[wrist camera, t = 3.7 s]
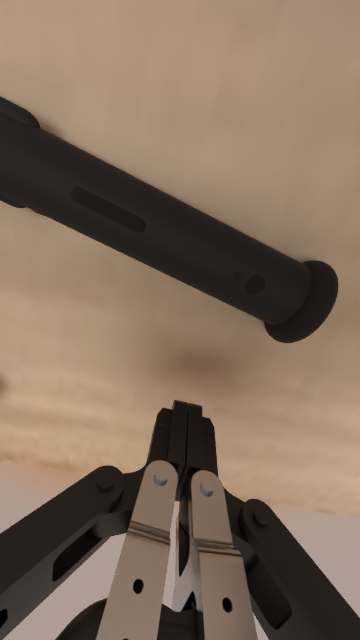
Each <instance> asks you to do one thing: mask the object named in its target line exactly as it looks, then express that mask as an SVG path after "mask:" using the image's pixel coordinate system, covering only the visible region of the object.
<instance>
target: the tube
mask: <svg viewBox="0 0 360 640" xmlns="http://www.w3.org/2000/svg"><path fill="white" fill-rule="evenodd" d="M0 200H1V201H3V202H5V203H7V204H9V205H11V206H14V207H17V208H25V207H28V208H30V209H32V210H33V211H35V212H37V213H39V214H41V215H44V216H47V217H49V218H51V219H53V220H55V221H57V222H59V223H61V224H63V225H66V226H68V227H70V228H72V229H74V230H76V231H78V232H80V233H82V234H84V235H86V236H88V237H90V238H92V239H95V240H97V241H99V242H101V243H103V244H105V245H107V246H109V247H111V248H113V249H115V250H117V251H119V252H121V253H124V254H126V255H128V256H130V257H132V258H134V259H136V260H138V261H140V262H142V263H144V264H146V265H148V266H150V267H153V268H155V269H157V270H159V271H161V272H163V273H165V274H167V275H169V276H171V277H173V278H175V279H177V280H179V281H182V282H184V283H186V284H188V285H190V286H192V287H194V288H196V289H198V290H200V291H202V292H204V293H206V294H208V295H211V296H213V297H215V298H217V299H219V300H221V301H223V302H225V303H227V304H229V305H231V306H233V307H235V308H237V309H240V310H242V311H244V312H246V313H248V314H250V315H252V316H254V317H256V318H258V319H260V320H262V321H264V324H265V328H266V331H267V332H268V334H269V335H270V336H271V337H272V338H273V339H275V340H277V341H279V342H283V343H293V342H297V341H300V340H302V339H304V338H306V337H308V336H309V335H310V334H312V333H313V332H314V331H315V330H317V329H318V328H319V327H320V325H321V324H322V323H323V322H324V321H325V319H326V318H327V316H328V315H329V313H330V312H331V310H332V308H333V306H334V303H335V301H336V297H337V293H338V278H337V275H336V273H335V271H334V270H333V268H332V267H331V266H329V265H328V264H326V263H324V262H321V261H307V262H304V263H300V262H298V261H296V260H294V259H292V258H290V257H288V256H286V255H284V254H282V253H280V252H278V251H276V250H274V249H273V248H271V247H269V246H267V245H265V244H263V243H261V242H259V241H257V240H255V239H253V238H251V237H249V236H247V235H245V234H244V233H242V232H240V231H238V230H236V229H234V228H232V227H230V226H228V225H226V224H224V223H222V222H220V221H218V220H216V219H215V218H213V217H211V216H209V215H207V214H205V213H203V212H201V211H199V210H197V209H195V208H193V207H191V206H189V205H188V204H186V203H184V202H182V201H180V200H178V199H176V198H174V197H172V196H170V195H168V194H166V193H164V192H162V191H160V190H159V189H157V188H155V187H153V186H151V185H149V184H147V183H145V182H143V181H141V180H139V179H137V178H135V177H133V176H131V175H130V174H128V173H126V172H124V171H122V170H120V169H118V168H116V167H114V166H112V165H110V164H108V163H106V162H104V161H103V160H101V159H99V158H97V157H95V156H93V155H91V154H89V153H87V152H85V151H83V150H81V149H79V148H77V147H75V146H74V145H72V144H70V143H68V142H66V141H64V140H62V139H60V138H58V137H56V136H54V135H52V134H50V133H48V132H46V131H45V130H43V129H41V128H40V125H39V123H38V121H37V120H36V118H35V117H34V116H33V115H32V114H31V113H30V112H29V111H27V110H26V109H24V108H22V107H20V106H18V105H16V104H14V103H12V102H10V101H8V100H6V99H5V98H3V97H1V96H0Z"/></svg>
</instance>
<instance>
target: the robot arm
mask: <svg viewBox="0 0 360 640" xmlns="http://www.w3.org/2000/svg"><path fill="white" fill-rule="evenodd" d="M175 501H180V506H179V513H178V516H177V519H176V576H175V588H174V593H173V601H172V609H170V608H168V607H167V606H165V605H163V604H162V599H163V592H164V586H165V578H166V572H167V564H168V557H169V550H170V528H171V521H172V515H173V509H174V502H175ZM124 533H127V534H126V537H125V541H124V544H123V548H122V551H121V555H120V558H119V562H118V565H117V569H116V572H115V575H114V579H113V582H112V585H111V589H110V592H109V596H108V598H105V599H103V600H100V601H97V602H96V603H94V604H92V605H90V606H89V607H87V608H86V609H84V610H83V611H82V612H81V613H79V614H78V615H77V616H76V617H75V618H74V619H73V620H72V621H71V622H70V623H69V624H68V625H67V627H66V628H65V629H64V630H63V631H62V632H61V633H60V635H59V636H58V637H57V638H56V639H55V640H258V639H257V634H256V629H255V623H254V618H253V613H254V615H255V616H256V618H257V620H258V621H259V623H260V625H261V627H262V628H263V630H264V632H265V633H266V635H267V637H268V639H269V640H360V618H359V617H358V615H357V614H356V613H355V612H354V610H353V609H352V608H351V607H350V606H349V604H348V603H347V602H346V601H345V599H344V598H343V597H342V596H341V595H340V593H339V592H338V591H337V590H336V588H335V587H334V586H333V585H332V583H331V582H330V581H329V580H328V578H326V576H325V575H324V574H323V572H322V571H321V570H320V569H319V567H318V566H317V565H316V564H315V563H314V561H313V560H312V559H311V558H310V556H309V555H308V554H307V553H306V552H305V550H304V549H303V548H302V546H300V544H299V543H298V542H297V540H296V539H295V538H294V537H293V536H292V534H291V533H290V532H289V530H288V529H287V528H286V527H285V526H284V524H283V523H282V522H281V521H280V519H279V518H278V517H277V516H276V515H275V513H274V512H273V511H272V510H271V508H270V507H269V506H268V505H267V504H265V503H264V502H262V501H260V500H258V499H249V500H248V501H246V502H243V501H242V500H240V499H238V498H236V497H235V496H233V495H232V494H230V493H229V492H228V491H227V490H226V489H225V488H224V487H223V485H222V482H221V481H220V479H219V477H218V469H217V456H216V445H215V431H214V426H213V424H212V422H211V420H210V418H206V417H202V406H199V405H195V404H191V403H186V402H182V401H178V400H174V403H173V406H172V410H171V409H167V408H162V409H161V411H160V412H159V413H158V415H157V419H156V422H155V426H154V430H153V434H152V438H151V443H150V448H149V453H148V458H147V462H146V465H145V466H144V467H143V468H142V469H140V470H138V471H136V472H133V473H125V474H122V472H121V471H120V470H119V469H117V468H116V467H113V466H102V467H99V468H97V469H96V470H94V471H93V472H91V473H90V474H88V475H87V476H85V477H84V478H82V479H81V480H79V481H78V482H77V483H75V484H74V485H72V486H70V487H69V488H67V489H66V490H65V491H63V492H61V493H60V494H58V495H57V496H56V497H54V498H53V499H51V500H50V501H48V502H47V503H45V504H44V505H42V506H41V507H40V508H38V509H36V510H35V511H33V512H32V513H30V514H29V515H27V516H26V517H24V518H23V519H22V520H20V521H19V522H17V523H15V524H14V525H13V526H11V527H10V528H9V529H7V530H5V531H4V532H2V533H1V534H0V640H2V639H4V638H5V636H7V635H8V634H9V633H10V632H11V631H12V630H13V629H14V628H15V627H16V626H17V625H18V624H19V623H20V622H21V621H23V620H24V619H25V618H26V617H27V616H28V615H29V614H30V613H31V612H32V611H33V610H34V609H35V608H36V607H37V606H38V605H39V604H40V603H41V602H43V600H44V599H46V598H47V597H48V596H49V595H50V594H51V593H52V592H53V591H54V590H55V589H56V588H57V587H58V586H59V585H61V584H62V582H64V581H65V580H66V579H67V578H68V577H69V576H70V575H71V574H72V573H73V572H74V571H75V570H76V569H77V568H78V567H80V566H81V565H82V564H83V563H84V562H85V561H86V560H87V559H88V558H89V557H90V556H91V555H92V554H93V553H94V552H95V551H96V550H97V549H98V548H100V546H102V545H103V544H104V543H105V542H106V541H107V540H108V539H109V538H110V537H111V536H114V535H119V534H124ZM252 611H253V612H252Z"/></svg>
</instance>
